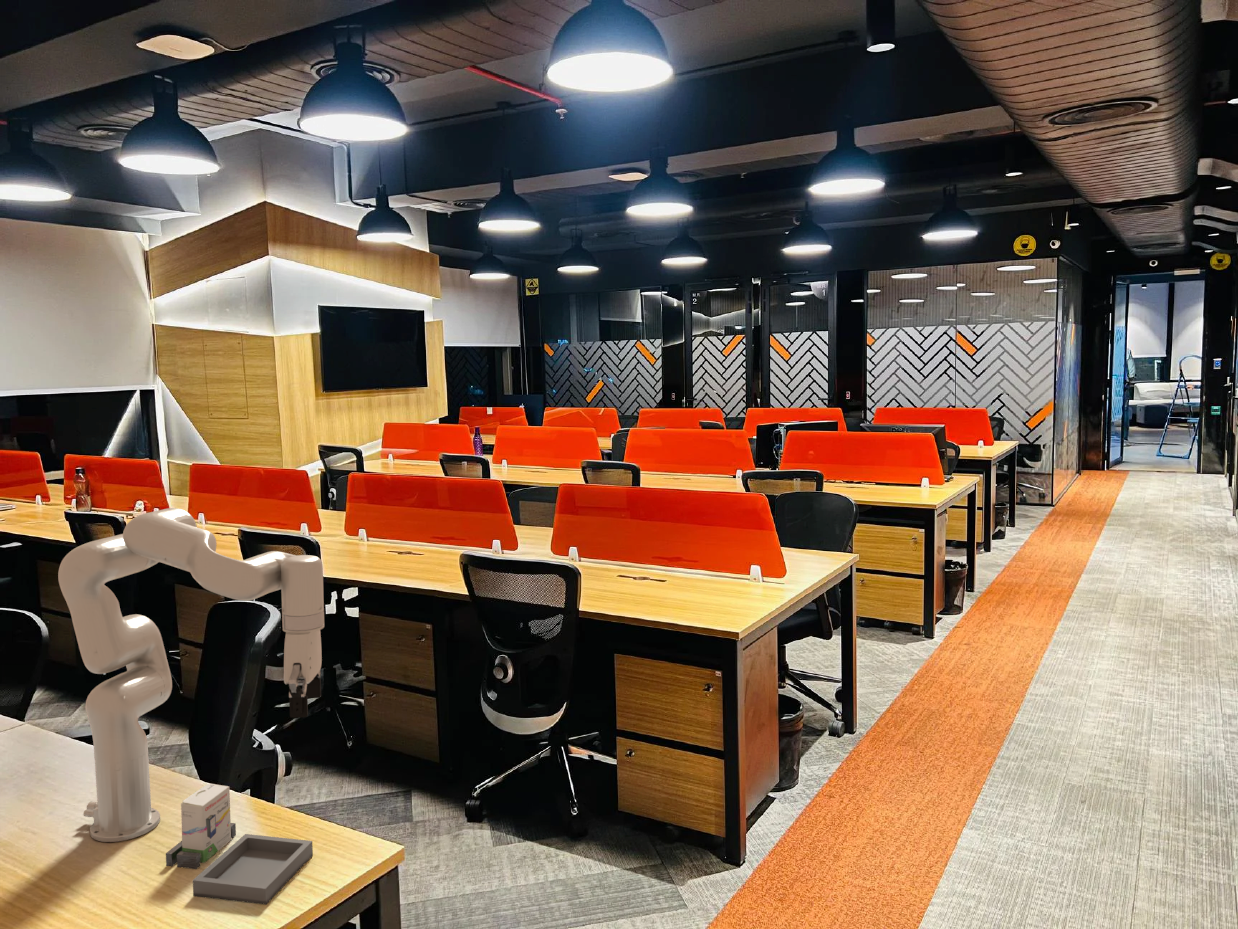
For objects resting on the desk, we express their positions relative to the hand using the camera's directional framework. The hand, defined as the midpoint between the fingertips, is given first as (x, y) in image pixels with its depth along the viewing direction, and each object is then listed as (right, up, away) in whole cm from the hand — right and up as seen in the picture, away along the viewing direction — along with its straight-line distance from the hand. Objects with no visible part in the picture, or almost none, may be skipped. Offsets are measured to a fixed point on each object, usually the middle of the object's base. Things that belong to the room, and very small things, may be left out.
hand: (306, 707), depth 173 cm
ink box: (-20, -29, +2) cm, 35 cm away
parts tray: (-7, -30, -6) cm, 31 cm away
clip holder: (-21, -29, +3) cm, 36 cm away
